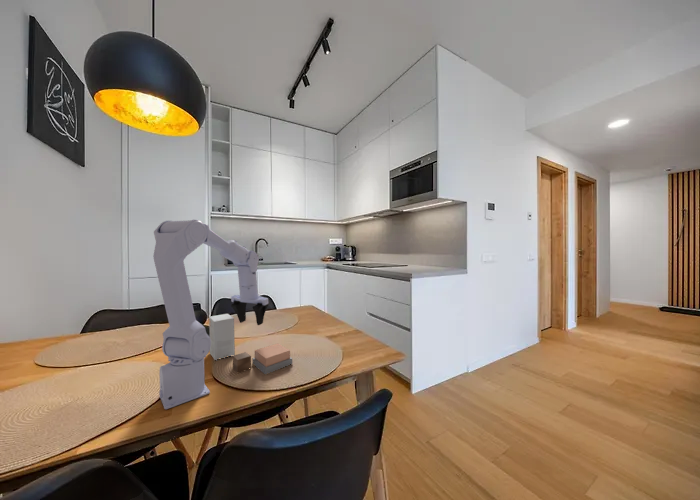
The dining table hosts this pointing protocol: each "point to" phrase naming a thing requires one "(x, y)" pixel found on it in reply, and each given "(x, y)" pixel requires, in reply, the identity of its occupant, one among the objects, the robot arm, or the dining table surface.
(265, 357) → the terracotta tile
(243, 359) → the walnut cube
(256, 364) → the slate slab
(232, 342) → the small box
